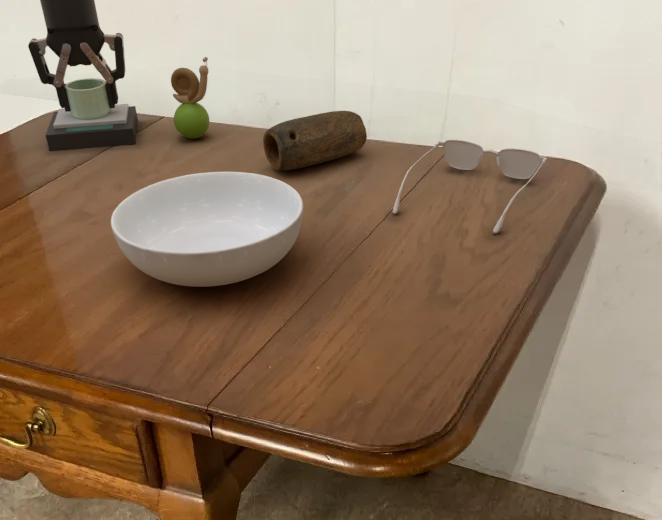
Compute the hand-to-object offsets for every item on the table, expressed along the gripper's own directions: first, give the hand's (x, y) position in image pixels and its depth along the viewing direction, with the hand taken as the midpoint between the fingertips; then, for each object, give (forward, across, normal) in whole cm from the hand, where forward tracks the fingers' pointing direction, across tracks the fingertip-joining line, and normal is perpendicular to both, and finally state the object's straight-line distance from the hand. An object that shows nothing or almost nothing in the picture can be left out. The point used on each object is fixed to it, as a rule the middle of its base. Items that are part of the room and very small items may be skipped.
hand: (90, 108), depth 121 cm
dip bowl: (+1, 0, 0) cm, 1 cm away
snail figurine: (+4, -16, +6) cm, 18 cm away
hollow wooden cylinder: (+4, -33, +20) cm, 39 cm away
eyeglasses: (+4, -50, +37) cm, 63 cm away
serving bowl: (+4, -17, +48) cm, 51 cm away
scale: (+4, 0, +1) cm, 4 cm away
